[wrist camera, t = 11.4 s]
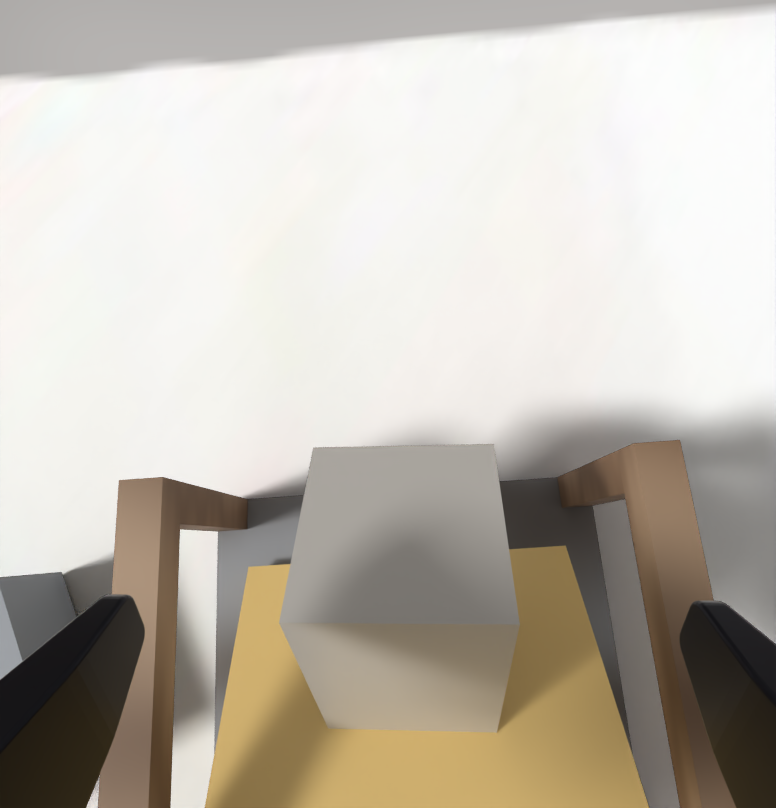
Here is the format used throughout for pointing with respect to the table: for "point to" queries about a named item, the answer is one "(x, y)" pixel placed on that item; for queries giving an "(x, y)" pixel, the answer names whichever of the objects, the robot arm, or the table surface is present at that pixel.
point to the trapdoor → (430, 750)
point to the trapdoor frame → (526, 528)
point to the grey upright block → (403, 588)
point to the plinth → (31, 615)
